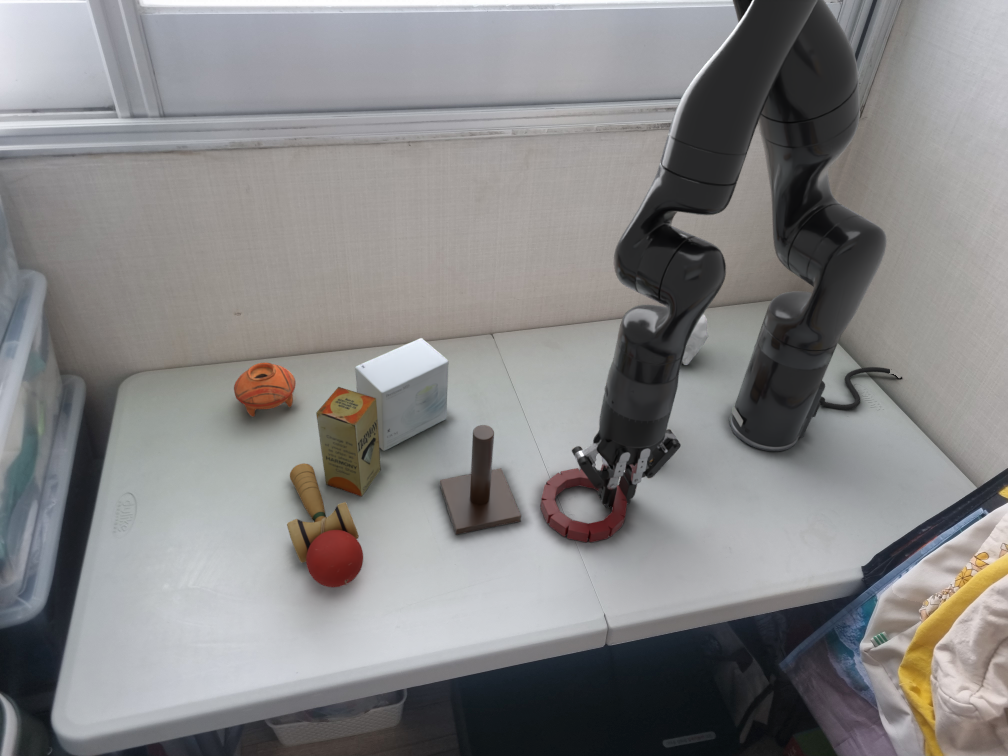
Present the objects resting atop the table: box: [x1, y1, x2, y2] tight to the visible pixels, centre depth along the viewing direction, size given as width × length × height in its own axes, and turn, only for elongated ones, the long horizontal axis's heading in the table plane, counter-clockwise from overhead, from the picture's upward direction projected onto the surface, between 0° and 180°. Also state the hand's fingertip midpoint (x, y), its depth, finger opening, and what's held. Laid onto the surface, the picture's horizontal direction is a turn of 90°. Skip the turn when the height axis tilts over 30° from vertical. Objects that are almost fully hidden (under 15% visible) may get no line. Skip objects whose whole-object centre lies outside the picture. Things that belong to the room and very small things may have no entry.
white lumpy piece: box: [682, 312, 709, 366], centre depth 115 cm, size 6×8×12 cm
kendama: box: [286, 463, 364, 588], centre depth 87 cm, size 8×6×18 cm
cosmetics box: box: [354, 337, 450, 452], centre depth 100 cm, size 10×6×10 cm, turn 131°
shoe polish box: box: [316, 386, 382, 498], centre depth 92 cm, size 5×5×12 cm
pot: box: [233, 362, 296, 417], centre depth 103 cm, size 8×8×7 cm
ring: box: [540, 467, 628, 543], centre depth 93 cm, size 10×10×2 cm
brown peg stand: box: [439, 424, 522, 536], centre depth 90 cm, size 8×8×12 cm
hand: (615, 500), depth 95 cm, fingers closed on ring, 1 cm apart
